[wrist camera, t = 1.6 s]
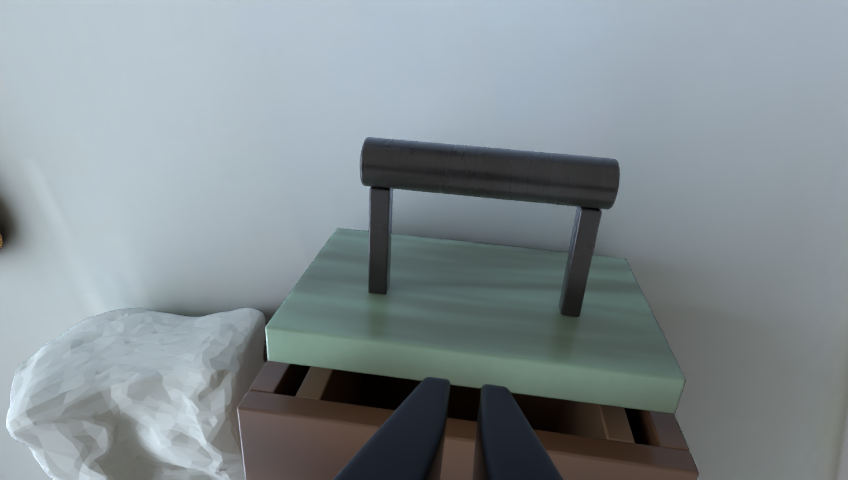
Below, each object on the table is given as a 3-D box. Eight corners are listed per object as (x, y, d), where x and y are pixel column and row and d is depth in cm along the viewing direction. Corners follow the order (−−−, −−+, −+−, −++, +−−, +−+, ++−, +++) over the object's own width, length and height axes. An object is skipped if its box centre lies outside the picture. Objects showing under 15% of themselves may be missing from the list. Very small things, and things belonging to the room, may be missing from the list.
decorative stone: (149, 493, 28) (-72, 557, 19) (157, 323, 31) (-37, 307, 22) (329, 492, 25) (165, 568, 16) (323, 301, 27) (176, 271, 18)
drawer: (335, 103, 19) (249, 155, 13) (656, 130, 18) (745, 201, 12) (339, 470, 27) (287, 622, 20) (567, 504, 26) (590, 676, 19)
